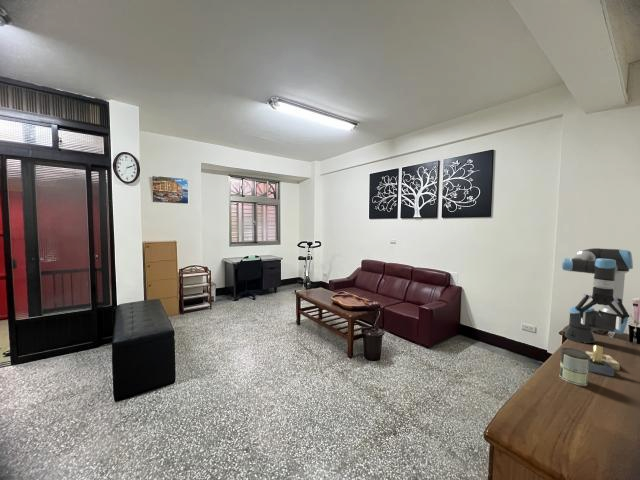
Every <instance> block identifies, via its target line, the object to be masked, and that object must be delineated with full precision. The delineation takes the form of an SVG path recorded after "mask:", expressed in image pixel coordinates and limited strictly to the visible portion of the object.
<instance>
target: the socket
mask: <svg viewBox="0 0 640 480" xmlns="http://www.w3.org/2000/svg"><path fill="white" fill-rule="evenodd" d="M588 373H594V374H599V375H604V376H607V377H612V378H614V377H615V370H614V369H613V368H612V367H611V366H610V365H609V364H608V363H607V362H606V361H602V364H601V365H599V364H594V363H592V358H589V368H588Z"/></svg>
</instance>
